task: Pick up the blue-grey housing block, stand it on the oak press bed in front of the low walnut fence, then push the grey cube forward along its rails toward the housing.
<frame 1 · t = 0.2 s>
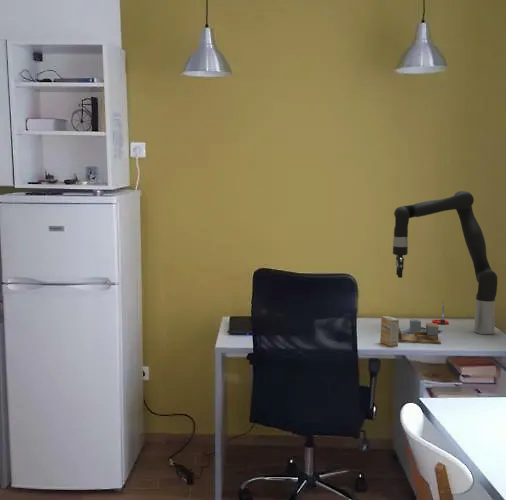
hand: (399, 276, 342), 28 cm above the table, tool pointing down, fingers open, 8 cm apart
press: (417, 339, 323), on the table
grey cube: (431, 331, 322), point 5 cm above the table, slide at 0.0 cm
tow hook: (440, 323, 362), on the table
supplement box: (388, 344, 314), on the table
housing: (414, 333, 336), on the table
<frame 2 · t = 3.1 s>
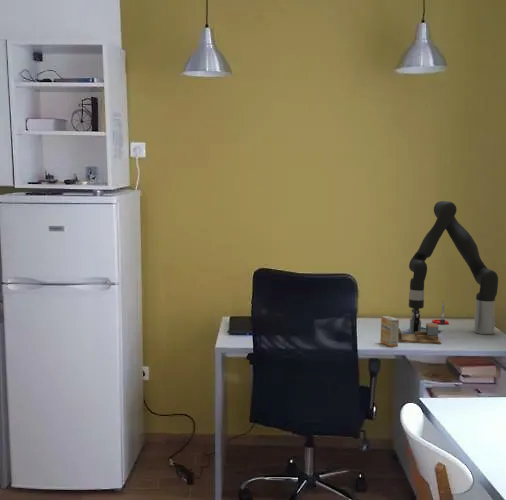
hand: (414, 330, 336), 1 cm above the table, tool pointing down, fingers closed on housing, 4 cm apart
housing: (414, 333, 336), on the table, touching gripper
everything else where it was.
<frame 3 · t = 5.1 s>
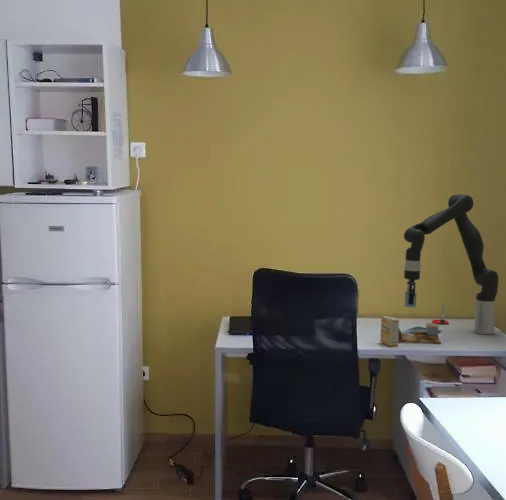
hand: (410, 303, 323), 18 cm above the table, tool pointing down, fingers closed on housing, 4 cm apart
housing: (410, 306, 323), point 17 cm above the table, touching gripper
everything else where it was.
when the fingers open (3 cm above the table, at t = 7.2 s): housing stays where it is, resting on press.
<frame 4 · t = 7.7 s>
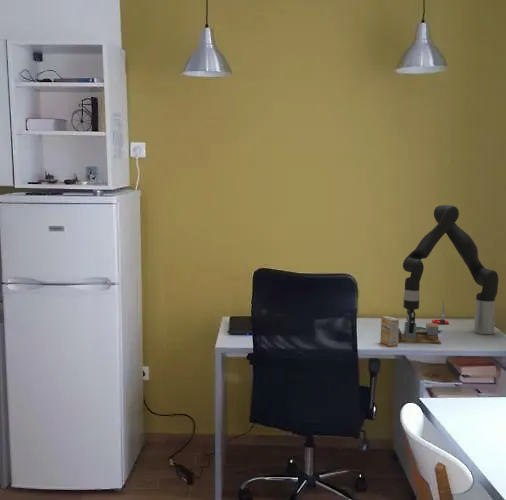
hand: (410, 331, 323), 4 cm above the table, tool pointing down, fingers open, 8 cm apart
housing: (409, 337, 324), point 1 cm above the table, touching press
everything else where it was.
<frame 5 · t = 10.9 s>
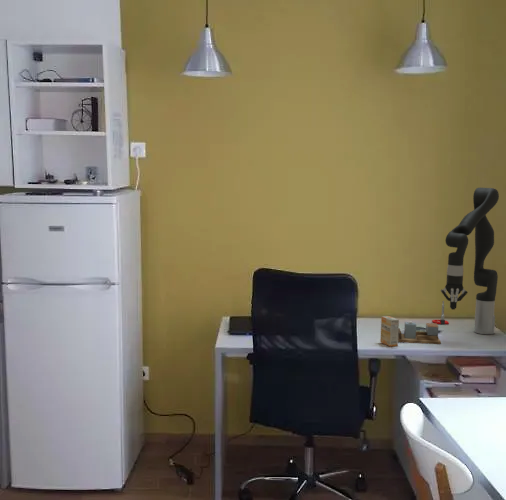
hand: (453, 309, 320), 16 cm above the table, tool pointing down, fingers closed
nothing on the table moved.
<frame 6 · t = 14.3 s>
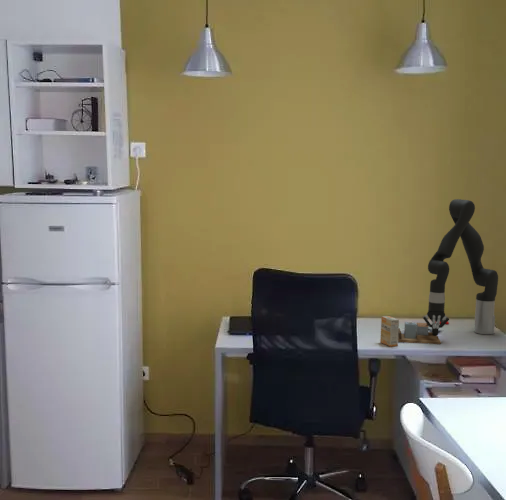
hand: (434, 335, 322), 3 cm above the table, tool pointing down, fingers closed
grey cube: (422, 330, 323), point 5 cm above the table, slide at 4.7 cm, touching hand
everything else where it was.
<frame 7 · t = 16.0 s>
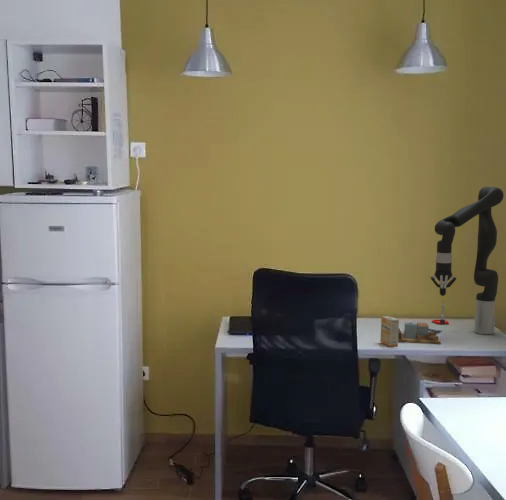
hand: (442, 295, 329), 21 cm above the table, tool pointing down, fingers closed
grey cube: (422, 330, 323), point 5 cm above the table, slide at 4.7 cm
everything else where it was.
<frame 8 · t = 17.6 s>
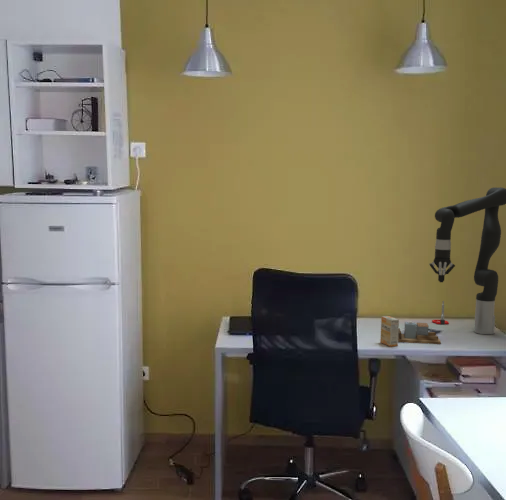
hand: (441, 282, 333), 27 cm above the table, tool pointing down, fingers closed
nothing on the table moved.
at the end: housing 0.5 cm from the target spot on the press, point 1.2 cm above the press's base; housing tilted 0°; grey cube slide at 4.7 cm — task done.
